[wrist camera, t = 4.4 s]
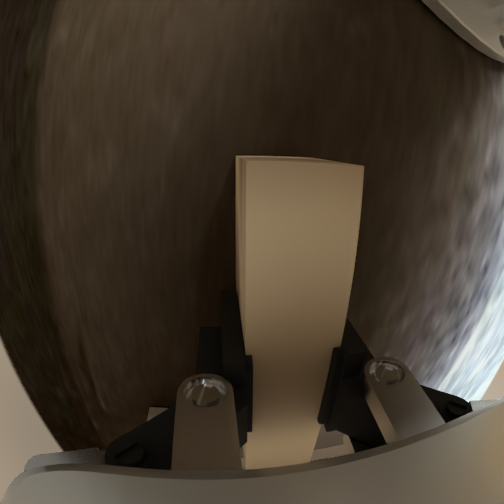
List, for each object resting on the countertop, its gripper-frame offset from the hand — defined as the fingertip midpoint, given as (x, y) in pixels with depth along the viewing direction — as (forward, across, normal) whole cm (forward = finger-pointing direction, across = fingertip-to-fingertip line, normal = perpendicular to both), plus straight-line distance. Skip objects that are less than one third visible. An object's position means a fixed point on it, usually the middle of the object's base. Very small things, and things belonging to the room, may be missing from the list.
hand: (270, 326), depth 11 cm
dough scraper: (+1, 0, 0) cm, 1 cm away
